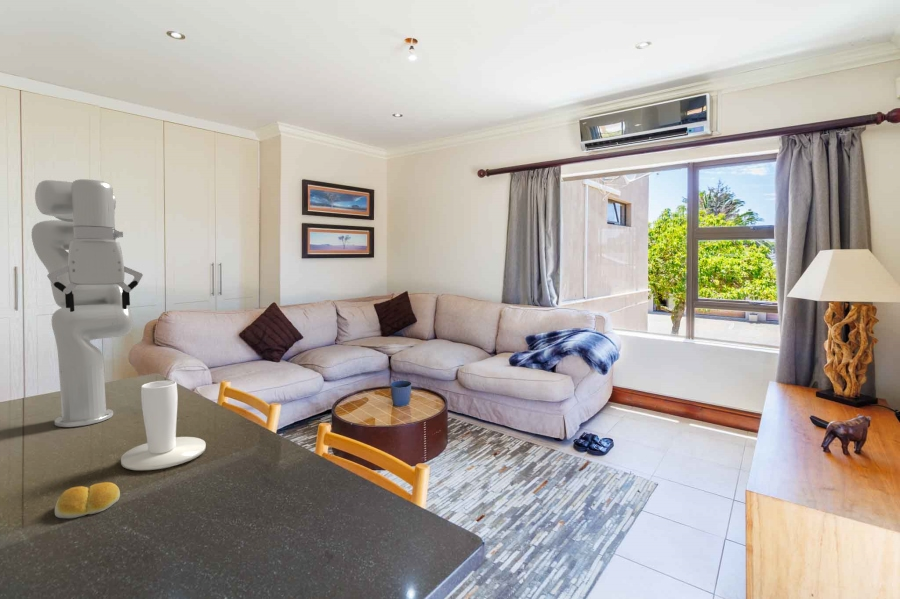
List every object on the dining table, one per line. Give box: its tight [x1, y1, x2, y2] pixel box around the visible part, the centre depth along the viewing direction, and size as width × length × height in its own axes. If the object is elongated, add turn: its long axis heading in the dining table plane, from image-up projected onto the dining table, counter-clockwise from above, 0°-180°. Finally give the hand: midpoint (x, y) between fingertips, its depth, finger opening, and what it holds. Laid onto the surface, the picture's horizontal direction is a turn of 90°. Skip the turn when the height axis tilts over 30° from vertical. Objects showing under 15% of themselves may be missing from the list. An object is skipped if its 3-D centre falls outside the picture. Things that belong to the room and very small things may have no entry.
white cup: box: [140, 379, 179, 454], centre depth 101 cm, size 7×7×15 cm
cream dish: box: [120, 436, 207, 471], centre depth 102 cm, size 16×16×2 cm
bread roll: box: [54, 481, 121, 519], centre depth 81 cm, size 8×9×4 cm
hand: (99, 310), depth 106 cm, fingers open, 9 cm apart
